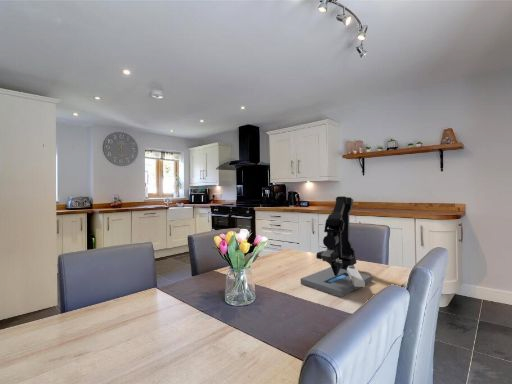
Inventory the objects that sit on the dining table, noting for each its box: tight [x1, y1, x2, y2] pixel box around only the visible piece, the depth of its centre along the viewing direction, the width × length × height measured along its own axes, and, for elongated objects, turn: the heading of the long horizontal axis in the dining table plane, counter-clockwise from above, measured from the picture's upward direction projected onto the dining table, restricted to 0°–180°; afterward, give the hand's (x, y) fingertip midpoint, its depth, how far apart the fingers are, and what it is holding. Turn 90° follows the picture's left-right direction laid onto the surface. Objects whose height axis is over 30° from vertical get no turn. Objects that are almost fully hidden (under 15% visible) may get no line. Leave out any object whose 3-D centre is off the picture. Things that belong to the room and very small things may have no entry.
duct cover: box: [347, 265, 366, 288], centre depth 128 cm, size 22×4×3 cm, turn 170°
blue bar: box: [328, 275, 347, 284], centre depth 130 cm, size 2×12×2 cm
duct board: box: [300, 266, 373, 298], centre depth 130 cm, size 22×26×2 cm
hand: (335, 275), depth 130 cm, fingers closed
